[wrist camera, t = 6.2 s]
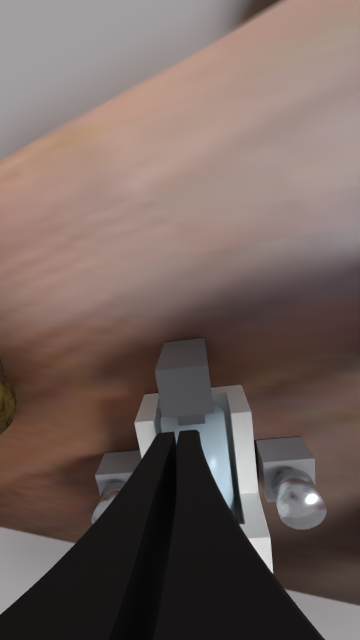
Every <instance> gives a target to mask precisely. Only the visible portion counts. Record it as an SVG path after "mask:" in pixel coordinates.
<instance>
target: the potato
mask: <svg viewBox="0 0 360 640" xmlns="http://www.w3.org/2000/svg"><path fill="white" fill-rule="evenodd" d="M5 378H6V376H5V375H4V372H3V367H2V363H1V360H0V434H1V433H2V432H4V431H5V430H6V429H7V428H8V427H9V426H10V424H11V423H12V421H13V418H14V414H15V408H16V401H17V400H16V398H15V393H14V391H13V388H12V386H11V385H10V384H9V383H8V382H6V381H5Z"/></svg>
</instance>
